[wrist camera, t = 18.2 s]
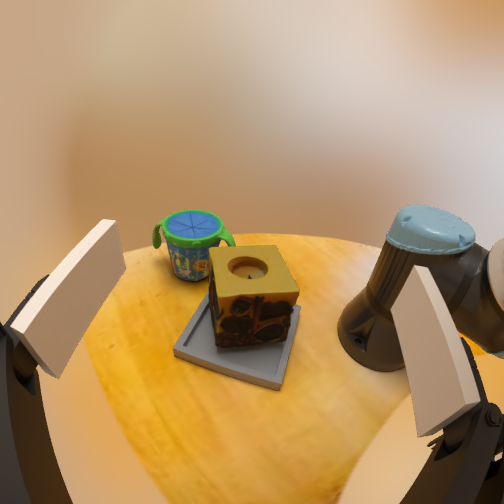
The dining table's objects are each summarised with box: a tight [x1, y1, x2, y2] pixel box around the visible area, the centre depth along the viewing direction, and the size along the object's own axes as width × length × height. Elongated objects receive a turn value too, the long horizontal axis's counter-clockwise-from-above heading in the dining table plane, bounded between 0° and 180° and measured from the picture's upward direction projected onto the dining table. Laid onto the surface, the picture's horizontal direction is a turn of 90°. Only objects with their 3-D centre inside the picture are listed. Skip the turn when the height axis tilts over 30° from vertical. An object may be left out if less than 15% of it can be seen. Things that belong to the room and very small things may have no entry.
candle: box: [208, 245, 300, 348], centre depth 38 cm, size 10×10×10 cm
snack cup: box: [153, 210, 236, 282], centre depth 49 cm, size 16×11×10 cm
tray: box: [173, 291, 301, 391], centre depth 40 cm, size 15×15×2 cm
